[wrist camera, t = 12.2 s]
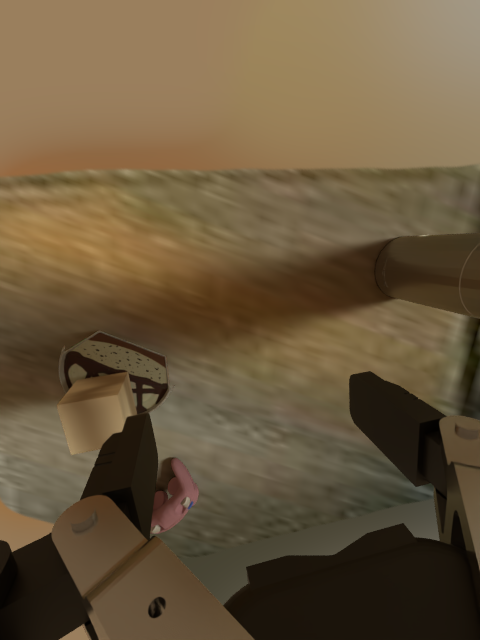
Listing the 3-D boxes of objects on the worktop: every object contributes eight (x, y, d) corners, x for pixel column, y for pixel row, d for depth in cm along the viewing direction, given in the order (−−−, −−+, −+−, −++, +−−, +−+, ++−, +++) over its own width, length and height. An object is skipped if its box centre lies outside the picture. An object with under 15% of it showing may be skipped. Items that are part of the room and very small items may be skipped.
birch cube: (128, 371, 31) (117, 394, 26) (137, 414, 32) (128, 443, 27) (76, 379, 30) (56, 405, 25) (88, 423, 31) (71, 454, 27)
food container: (70, 366, 39) (34, 405, 30) (87, 325, 39) (55, 351, 29) (158, 396, 43) (151, 440, 33) (176, 359, 42) (174, 393, 32)
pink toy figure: (146, 499, 48) (157, 545, 43) (125, 495, 45) (134, 545, 40) (192, 459, 48) (208, 501, 43) (174, 453, 45) (189, 498, 40)
